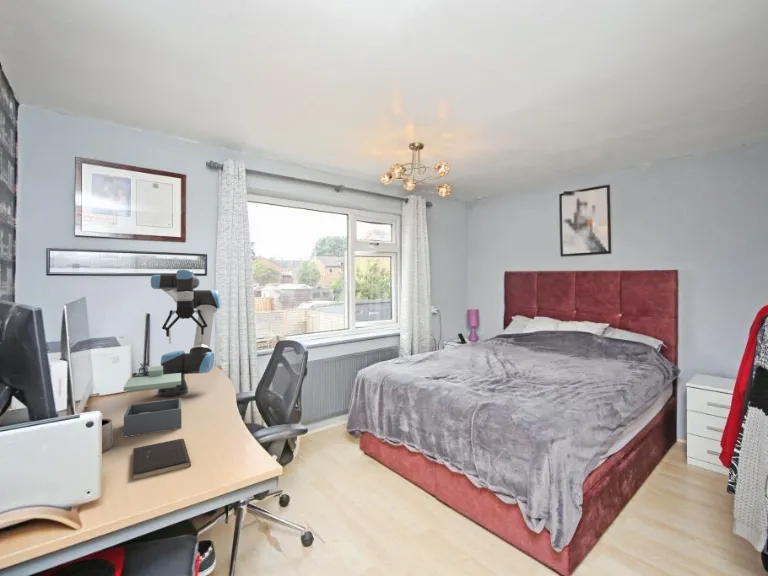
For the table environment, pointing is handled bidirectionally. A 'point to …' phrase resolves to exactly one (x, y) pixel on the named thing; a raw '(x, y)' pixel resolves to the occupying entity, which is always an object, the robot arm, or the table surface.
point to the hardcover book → (159, 458)
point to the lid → (153, 381)
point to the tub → (152, 417)
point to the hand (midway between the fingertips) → (185, 342)
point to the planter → (106, 434)
